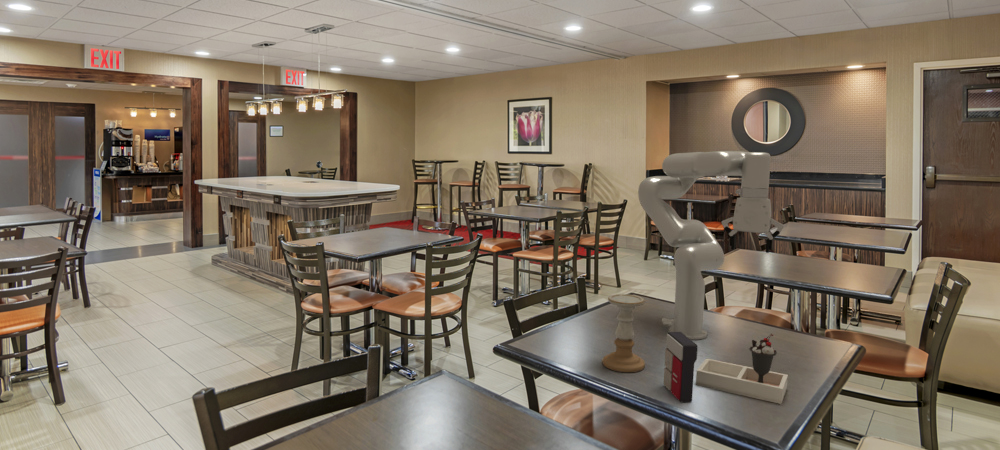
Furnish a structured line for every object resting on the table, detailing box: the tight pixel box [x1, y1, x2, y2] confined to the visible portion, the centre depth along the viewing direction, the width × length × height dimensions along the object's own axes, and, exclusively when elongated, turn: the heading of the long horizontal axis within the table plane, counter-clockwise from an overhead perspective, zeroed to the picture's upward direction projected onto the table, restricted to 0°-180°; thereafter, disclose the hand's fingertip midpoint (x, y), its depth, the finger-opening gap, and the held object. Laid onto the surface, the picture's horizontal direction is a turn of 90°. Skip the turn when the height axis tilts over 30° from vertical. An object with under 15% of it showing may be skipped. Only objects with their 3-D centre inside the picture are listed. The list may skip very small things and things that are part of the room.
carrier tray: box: [695, 358, 789, 405], centre depth 153 cm, size 21×11×4 cm, turn 57°
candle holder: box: [601, 293, 646, 373], centre depth 166 cm, size 12×12×20 cm
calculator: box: [663, 331, 699, 403], centre depth 147 cm, size 11×4×15 cm, turn 5°
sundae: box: [748, 333, 778, 383], centre depth 149 cm, size 7×7×15 cm
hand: (750, 250), depth 171 cm, fingers open, 9 cm apart
